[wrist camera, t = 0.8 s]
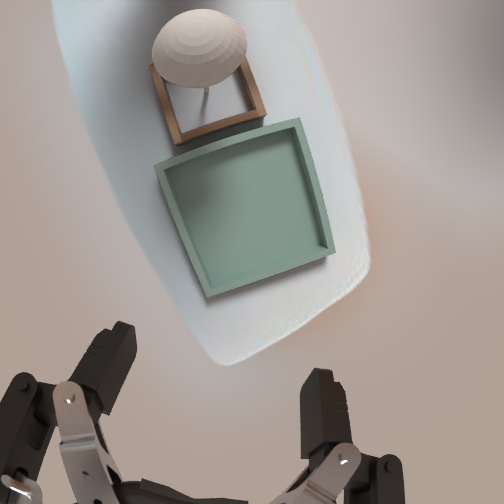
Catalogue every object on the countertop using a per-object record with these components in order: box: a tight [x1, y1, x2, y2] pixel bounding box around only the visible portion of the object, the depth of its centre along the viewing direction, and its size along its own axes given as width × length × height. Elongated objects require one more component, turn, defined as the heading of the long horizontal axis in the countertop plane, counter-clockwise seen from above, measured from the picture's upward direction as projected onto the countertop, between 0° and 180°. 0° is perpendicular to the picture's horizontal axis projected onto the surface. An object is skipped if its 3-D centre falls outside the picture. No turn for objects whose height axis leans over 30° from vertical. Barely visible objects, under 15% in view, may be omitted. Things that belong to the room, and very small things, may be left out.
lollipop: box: [152, 9, 247, 93], centre depth 18 cm, size 6×6×15 cm
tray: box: [154, 117, 336, 297], centre depth 28 cm, size 15×15×2 cm
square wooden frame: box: [149, 56, 267, 146], centre depth 24 cm, size 10×10×2 cm
